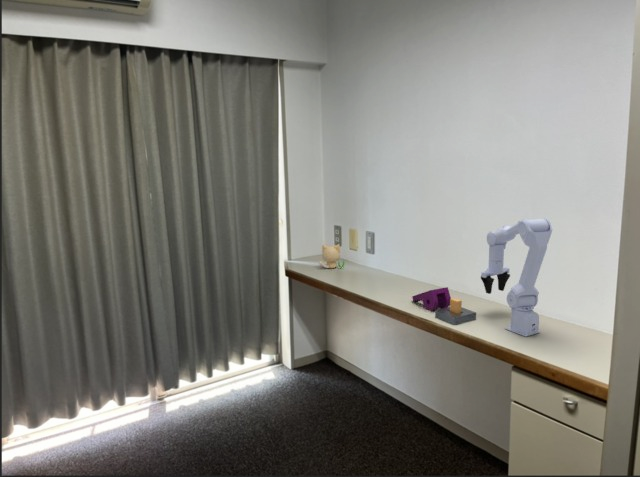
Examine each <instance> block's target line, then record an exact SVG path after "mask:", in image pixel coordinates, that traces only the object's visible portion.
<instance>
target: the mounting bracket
mask: <svg viewBox="0 0 640 477" xmlns="http://www.w3.org/2000/svg"><path fill="white" fill-rule="evenodd" d="M449 290H450V289H449V287H442V288H435V289H431V290H427V291H424V292H421V293H418V294H415V295H413V296H411V298H412V300H413V301H412V302H417V301H422V304H423V306H424V308H425V309H426V310H427V311H429V312H431V311H435V310H438V307H439V308H440V309H443V308H448V307H450V299H452V298H451V294H450V291H449Z"/></svg>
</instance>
